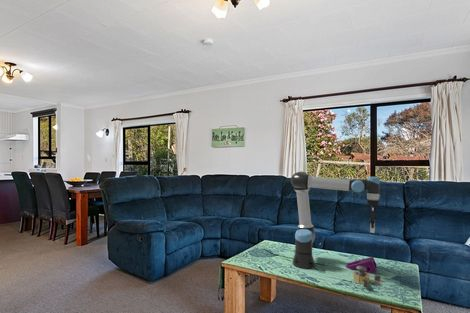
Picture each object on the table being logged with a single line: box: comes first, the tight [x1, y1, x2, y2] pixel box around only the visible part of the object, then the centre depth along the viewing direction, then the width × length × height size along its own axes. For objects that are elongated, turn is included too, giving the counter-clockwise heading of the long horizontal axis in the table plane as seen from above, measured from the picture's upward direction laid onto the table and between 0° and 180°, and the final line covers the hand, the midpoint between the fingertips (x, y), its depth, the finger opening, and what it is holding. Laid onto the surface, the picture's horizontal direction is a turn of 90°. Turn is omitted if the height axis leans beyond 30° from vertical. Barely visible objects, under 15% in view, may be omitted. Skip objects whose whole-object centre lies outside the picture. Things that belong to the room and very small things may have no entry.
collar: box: [353, 270, 370, 288], centre depth 165 cm, size 16×8×5 cm, turn 166°
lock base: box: [356, 266, 384, 285], centre depth 169 cm, size 28×14×9 cm, turn 76°
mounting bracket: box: [345, 256, 378, 275], centre depth 186 cm, size 9×8×18 cm
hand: (372, 230), depth 192 cm, fingers open, 13 cm apart
